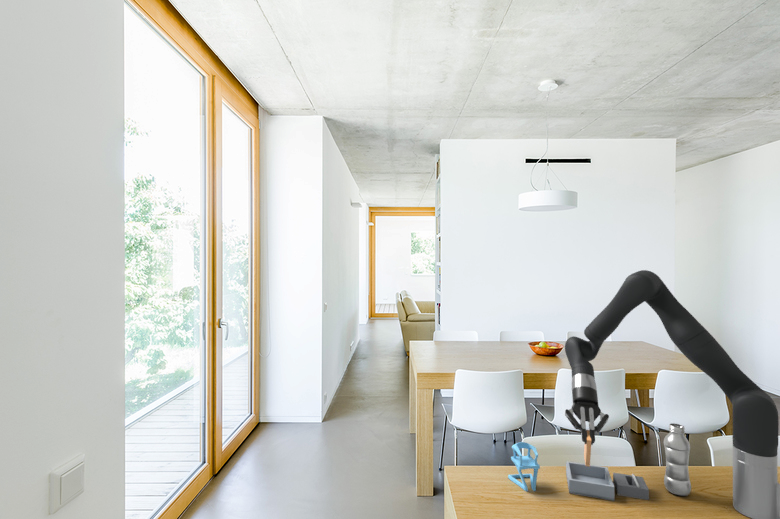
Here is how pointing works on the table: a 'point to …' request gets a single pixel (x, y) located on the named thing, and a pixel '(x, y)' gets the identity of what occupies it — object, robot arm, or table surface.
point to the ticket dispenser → (630, 486)
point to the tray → (589, 481)
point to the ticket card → (587, 450)
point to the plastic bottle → (677, 461)
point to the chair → (524, 465)
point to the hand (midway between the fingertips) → (588, 443)
